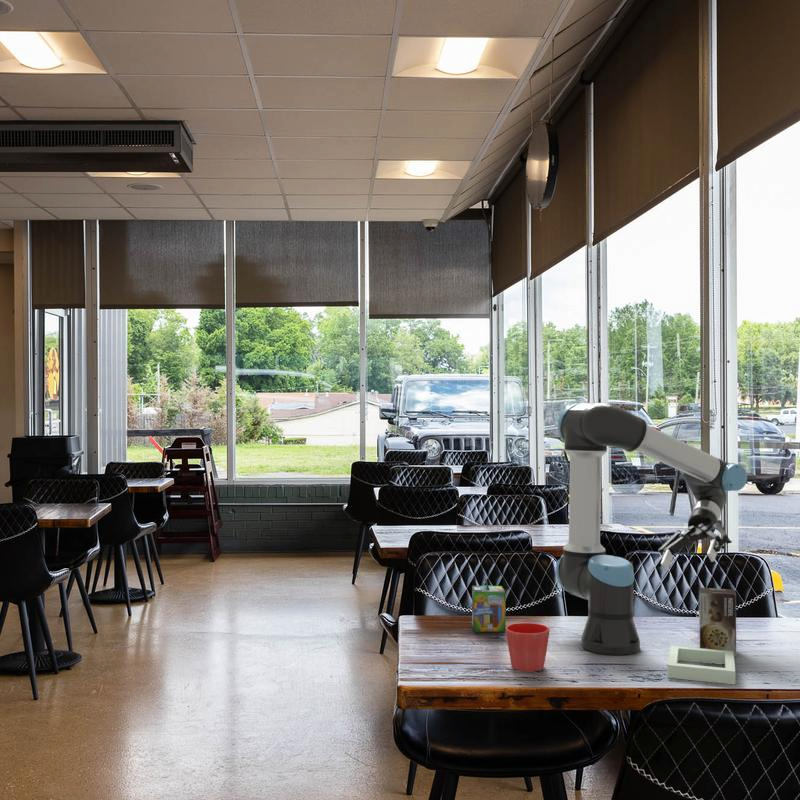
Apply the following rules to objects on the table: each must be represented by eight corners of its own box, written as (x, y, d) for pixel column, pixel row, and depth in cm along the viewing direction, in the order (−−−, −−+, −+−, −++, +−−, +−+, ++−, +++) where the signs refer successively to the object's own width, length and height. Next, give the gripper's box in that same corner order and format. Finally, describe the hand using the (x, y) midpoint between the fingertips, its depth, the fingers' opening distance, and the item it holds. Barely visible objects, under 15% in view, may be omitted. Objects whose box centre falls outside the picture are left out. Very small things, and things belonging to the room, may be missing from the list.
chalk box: (505, 632, 252) (506, 580, 252) (473, 632, 252) (473, 579, 252) (502, 624, 261) (503, 573, 261) (471, 624, 261) (471, 573, 261)
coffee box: (735, 650, 235) (736, 589, 235) (736, 657, 229) (737, 594, 229) (699, 647, 238) (699, 586, 238) (698, 653, 232) (699, 591, 232)
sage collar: (667, 677, 211) (667, 664, 211) (670, 657, 228) (670, 645, 228) (735, 684, 207) (735, 671, 207) (733, 663, 224) (733, 651, 224)
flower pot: (496, 667, 218) (496, 627, 218) (522, 658, 226) (522, 620, 226) (532, 677, 211) (532, 635, 211) (558, 667, 219) (558, 627, 219)
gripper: (752, 520, 249) (737, 565, 233) (670, 538, 265) (651, 582, 249) (739, 497, 248) (724, 541, 232) (659, 517, 264) (639, 560, 248)
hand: (686, 562), depth 240 cm, fingers open, 13 cm apart
